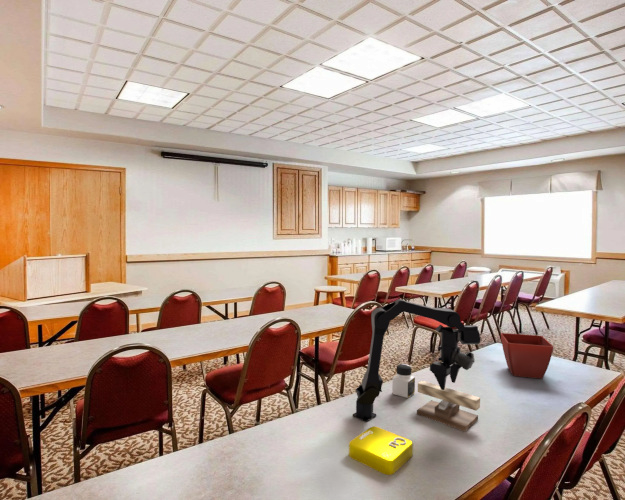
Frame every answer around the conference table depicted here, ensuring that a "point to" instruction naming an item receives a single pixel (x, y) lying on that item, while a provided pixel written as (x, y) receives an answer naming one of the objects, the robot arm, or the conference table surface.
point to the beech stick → (449, 395)
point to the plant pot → (526, 354)
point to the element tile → (381, 450)
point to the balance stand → (448, 414)
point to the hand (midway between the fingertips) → (448, 386)
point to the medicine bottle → (403, 381)
